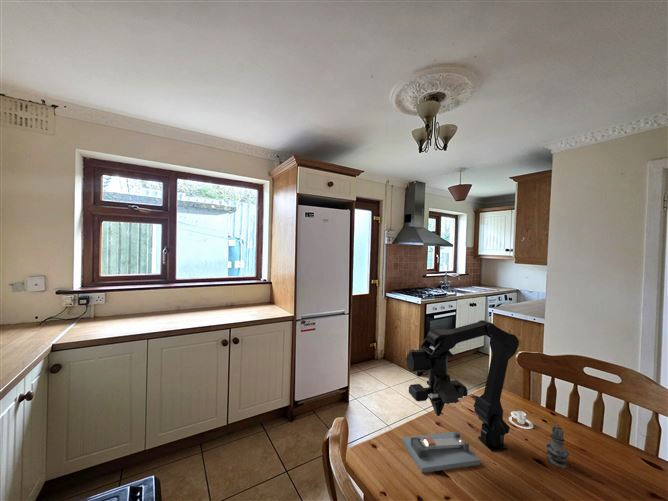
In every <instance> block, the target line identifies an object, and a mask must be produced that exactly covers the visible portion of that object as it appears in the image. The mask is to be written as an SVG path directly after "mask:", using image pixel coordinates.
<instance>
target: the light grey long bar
mask: <svg viewBox="0 0 668 501" xmlns="http://www.w3.org/2000/svg"><path fill="white" fill-rule="evenodd" d="M419 442H420V444H421V445H422V447H423V448H427V449H443V448H463V442H465V441H464V440H462V438H461V436H460V437H457V438H447V439H432V438H431V437H424V440H420V441H419Z"/></svg>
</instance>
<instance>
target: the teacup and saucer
mask: <svg viewBox="0 0 668 501" xmlns="http://www.w3.org/2000/svg"><path fill="white" fill-rule="evenodd" d="M510 415H511V416H509V417H508V421H509V422H510V423H511V424H512V425H514V426H515V427H518V428H521V429H525V430H531V429H533V428H534V424H533V423H532V422H531V421H530V420H528V419H527V414H526V413H525V412H524V411H522V410H517V411H515V410H514V411H511V412H510ZM512 417H513V418H514V419H515V420H516V421H517V423H518V424H517V423H516V422H514V420H513V421H512ZM525 423H527V424H528V426H521V425H525ZM519 424H520V425H519Z"/></svg>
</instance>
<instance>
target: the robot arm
mask: <svg viewBox="0 0 668 501" xmlns="http://www.w3.org/2000/svg"><path fill="white" fill-rule="evenodd" d="M483 336H486V337H488V338H489V346H490V351H491V359H490V364H489V368H488V373H487V376H486V377H487V378H486V382H485V387H484V391H483V393H482V394H481V395H480V396H478V395H476V396H475V398H474V399H475V400H474V403H473V408H474V413H475V415H476V416H477V418H478V420H480V422H482V423H481V428H480V435H479V436H478V437H477V438H478V440H480V442H482V443H483V444H484V446H485V447H487V449H488V450H490V451H491V452H495V451H502V450H508V446H507V445H506V444H505V436H506V435H507V434H509V432H510V429H511V427H510V425H508V424H507V422H506V421H505V420H504V410H503V406H502V403H501V397H502V393H503V392H502V391H503V388H504V383H505V378H506V374H507V369H508V365H509V360H510V359H511V358H512V357H513V356H514V355H515V354H517V351H518V348H519V345H520V340H519V338H518V337H517V335H516V334H513V333H510V332H508V331H506V330H504V329H501V328H499V327H498V326H497V325H495V324H494V323H492V322H490V321H487V320H484V319H482V320H478V321H477V322H473V323H469V324H465V325H463V326H458V327H455V328H451V329H450V328H449V329H447V328H444V329H443V328H436V329H431V330H429V331H428V333H427V334H426V337H425V338H424V340H423V341H422V343H421V345H420V346H419V348H420V349H409V350H408V353H407V355H406V357H405V363H406V367H407V370H408V371H409V372H410V373H414V372H417V373H418V372H426V373H428V380H426V385H428V386H427V387H424V386H423V385H422V384H420V383H416V384H415V383H414V384H410V385H409V387H408V394H409V395H410V396H411V397H412V398H413V399H414V400H415V401H417V402H418V403H419V402H427V400H428V399H429V401H430V404H431V406H432V408H433V411H434V413H435V415H436V417H440V416H441V414H442V412H443V409H444V406H445V405H450V404H457V403H458V401H459V399H463V398H464V397H468V394H469V392H468V388H467V387H466V386H465V385H464V384H463V383H462V382H460V380H457V379H455V380H451V377H450V376H451V375H450V374H448V358H452V357H455V356H454V354H453V353H452V352H451V351H450V350H452V349H454V348H455V347H456V345H457V344H460V343H463V342H467V341H470V340H473V339H477V338H480V337H483ZM430 346H431V347H432V348H431V347H430ZM433 348H434V349H433Z"/></svg>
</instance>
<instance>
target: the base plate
mask: <svg viewBox="0 0 668 501" xmlns="http://www.w3.org/2000/svg"><path fill="white" fill-rule="evenodd" d="M424 437H431V438H432V439H447V438H457V437H460V438H461V433H460V432H459V431H450V432H442V433H431V434H422V435H414V436H413V435H412V436H405V437H402V443H403V445H404V446H405V448H406V450H407V451H408V453H409V455H410V456H411V458H412V460H413V461H414V463H415V464H416V467H417V468H418V469H419V472H420V473H422V474H423V473H424V474H425V473H431V472H439V471H445V470H453V469H460V468H468V467H473V466H481V459H480V458H479V457H478V456H477V455H476V454H475V452H474V451H473V450H472V449H471V448H470V442H468V441H464V442H463V448H443V449H427V448H423V447H422V445H421V444H420V442H419V441H420V440H424Z"/></svg>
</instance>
